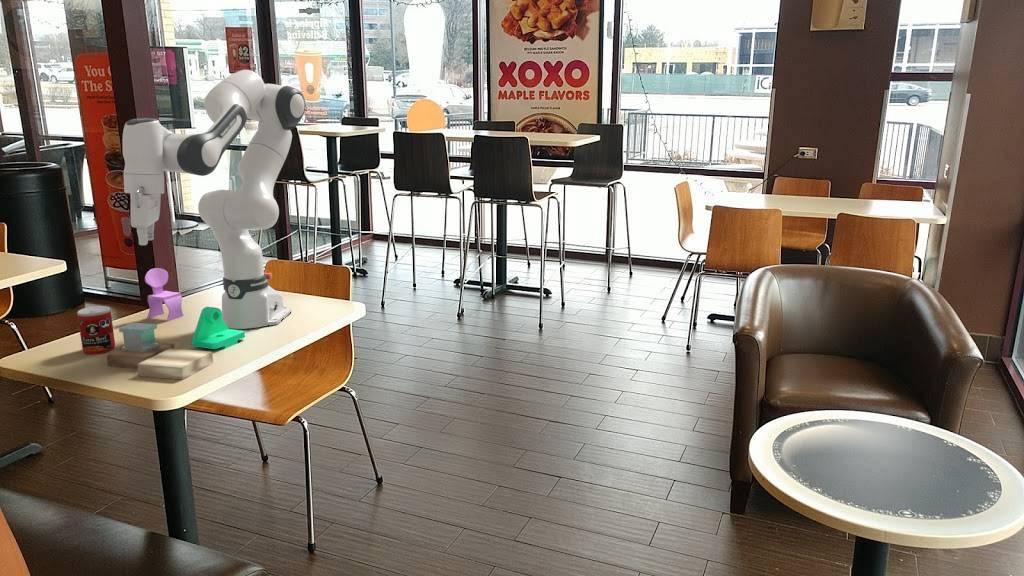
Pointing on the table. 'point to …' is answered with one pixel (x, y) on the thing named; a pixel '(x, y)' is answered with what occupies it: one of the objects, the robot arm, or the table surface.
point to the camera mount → (214, 331)
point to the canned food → (96, 329)
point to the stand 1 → (134, 356)
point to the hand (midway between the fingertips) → (146, 242)
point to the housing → (139, 337)
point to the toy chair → (162, 295)
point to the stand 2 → (175, 363)
